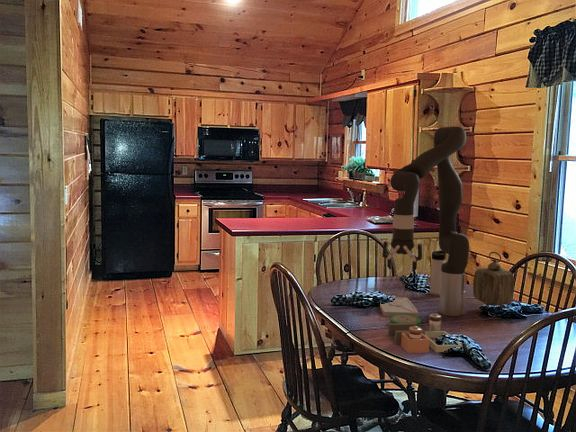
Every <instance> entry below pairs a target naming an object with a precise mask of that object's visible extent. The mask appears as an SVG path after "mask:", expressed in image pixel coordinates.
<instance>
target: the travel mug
mask: <svg viewBox="0 0 576 432" xmlns="http://www.w3.org/2000/svg"><path fill="white" fill-rule="evenodd" d="M446 255H447V253H444V252H443V251H442V250H441V249H439V250H435V251H432V252H431V260H430V261H431V263H430V279H429V280H430V281H429V282H430V284H429V294H430V295H431V296H434V297H440V283H441V266H442V264H443V263H446V262H447V261H446V257H447V256H446Z"/></svg>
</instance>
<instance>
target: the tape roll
mask: <svg viewBox="0 0 576 432" xmlns="http://www.w3.org/2000/svg"><path fill="white" fill-rule="evenodd" d="M393 323H416V324H417V326H418V327H420V328H421V319H420V318H419V317H414V316H410V315H396V316H390V321H389V324H393Z"/></svg>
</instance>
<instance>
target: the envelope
mask: <svg viewBox="0 0 576 432" xmlns="http://www.w3.org/2000/svg"><path fill="white" fill-rule="evenodd" d="M394 297H395V300H394V301H393V302H389V303H385V304H381V303H380V307H379V308H381V309H380V311H381V313H382V316H383V317H392V316H396V315H410V316H414V317H417V318H419V317H420V316H419V315H420V313H419V311H418V309H417V307H415V306H414V304H413V303H412V302H411V300H410V299H409V298H408V297H404V296H403V297H402V296H401V297H400V296H394Z"/></svg>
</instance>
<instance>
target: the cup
mask: <svg viewBox="0 0 576 432" xmlns="http://www.w3.org/2000/svg"><path fill="white" fill-rule="evenodd" d="M400 347H402V348H403V349H404V351H405V352H407V354H422V353H424V354H427V353H430V346H429V338H427V337H426V336H425V335H424V334H423V333H422V336H421V339H409V332H407V333H401V345H400Z"/></svg>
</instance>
